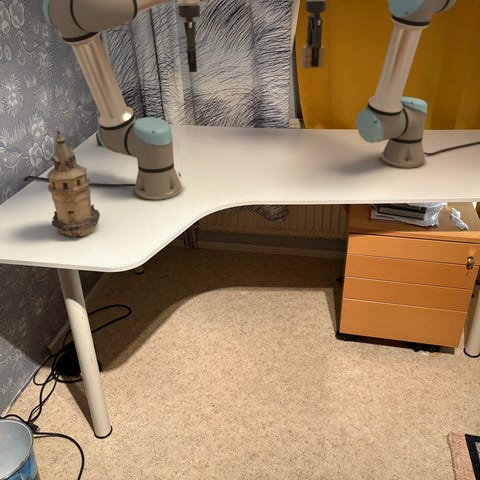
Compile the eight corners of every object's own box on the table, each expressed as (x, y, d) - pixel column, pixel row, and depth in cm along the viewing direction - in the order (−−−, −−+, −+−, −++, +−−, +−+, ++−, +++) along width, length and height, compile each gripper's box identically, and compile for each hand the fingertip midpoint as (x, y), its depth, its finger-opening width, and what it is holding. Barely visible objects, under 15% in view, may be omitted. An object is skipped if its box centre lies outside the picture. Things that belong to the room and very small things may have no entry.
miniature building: (80, 214, 164) (63, 117, 149) (111, 225, 157) (96, 125, 142) (44, 231, 154) (22, 130, 140) (75, 244, 147) (55, 139, 133)
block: (323, 67, 206) (324, 47, 203) (304, 68, 206) (305, 48, 202) (319, 64, 212) (320, 44, 208) (300, 64, 211) (301, 45, 208)
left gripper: (201, 8, 174) (204, 75, 184) (198, 0, 195) (201, 60, 206) (178, 8, 173) (182, 75, 184) (177, 1, 195) (181, 61, 205)
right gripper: (332, 2, 189) (328, 69, 201) (319, -3, 206) (316, 59, 217) (311, 3, 189) (308, 70, 200) (300, -3, 205) (297, 60, 217)
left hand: (192, 67), depth 195 cm, fingers open, 13 cm apart
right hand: (312, 64), depth 209 cm, fingers closed on block, 7 cm apart
